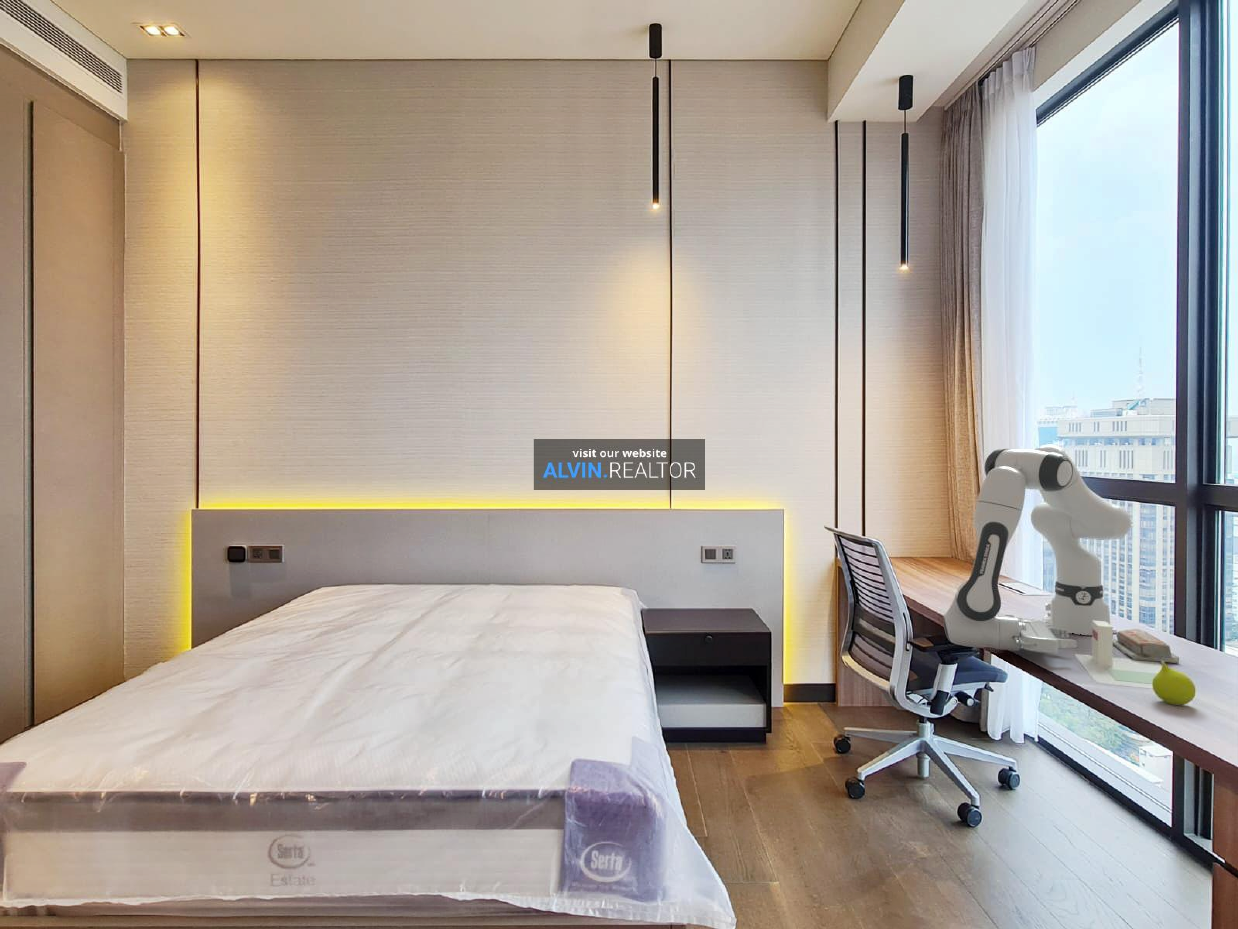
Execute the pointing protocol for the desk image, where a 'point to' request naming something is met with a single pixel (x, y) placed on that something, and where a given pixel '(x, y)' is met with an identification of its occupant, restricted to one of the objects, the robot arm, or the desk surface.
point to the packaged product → (1143, 646)
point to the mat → (1122, 671)
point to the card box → (1102, 643)
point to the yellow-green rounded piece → (1173, 686)
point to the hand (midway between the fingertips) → (1072, 638)
